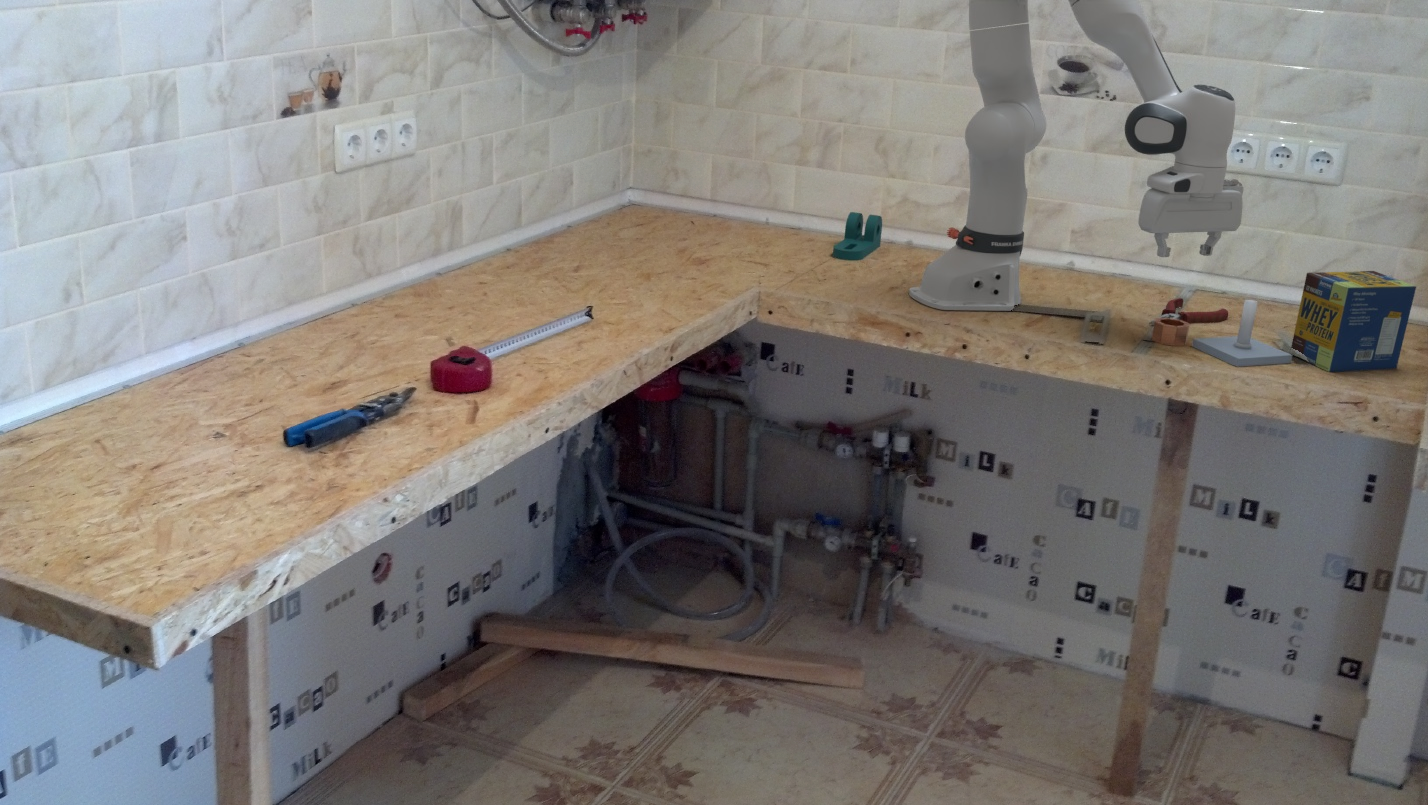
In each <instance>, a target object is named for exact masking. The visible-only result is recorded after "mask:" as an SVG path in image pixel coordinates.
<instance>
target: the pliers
mask: <svg viewBox="0 0 1428 805" xmlns="http://www.w3.org/2000/svg"><path fill="white" fill-rule="evenodd" d="M1183 305H1184V299H1183V298H1182V297H1181V298H1179V297H1178V298H1174V299H1171V300H1169V301H1168V302H1167V303H1166V305H1165V308H1164V309H1163V310H1162V311H1161V315H1160V316H1159V317H1157V318H1172V319H1178V320H1182V321H1185V322H1187V323H1189V324H1210V322H1211V324H1213V322H1214V323H1220V322H1223V321H1225V320H1227V319H1228V317H1229V311H1228V310H1227V309H1225V308H1220V309H1219V310H1214V311H1178V312H1176V311H1177V309H1175V308H1178V309H1180V308H1179V307H1181V308H1183ZM1155 320H1156V318H1155V319H1153V320H1151V321H1150V322H1149V323H1148V324H1149V325H1153V326H1154V322H1155Z"/></svg>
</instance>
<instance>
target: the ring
mask: <svg viewBox="0 0 1428 805" xmlns="http://www.w3.org/2000/svg"><path fill="white" fill-rule="evenodd" d="M1155 319H1156V320H1155ZM1155 319H1154V320H1155V322H1154V325H1153V328H1152V332H1151V333H1152V334H1151V341H1154V342H1155V343H1158V344H1160V345H1167V346H1172V347H1173V346H1174V347H1175V346H1177V347H1178V346H1185V345H1186V344H1187V341H1188V336H1189V332H1190V326H1191V323H1187V322H1185V321H1182V320H1178V319H1172V318H1158V317H1157V318H1155Z"/></svg>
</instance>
